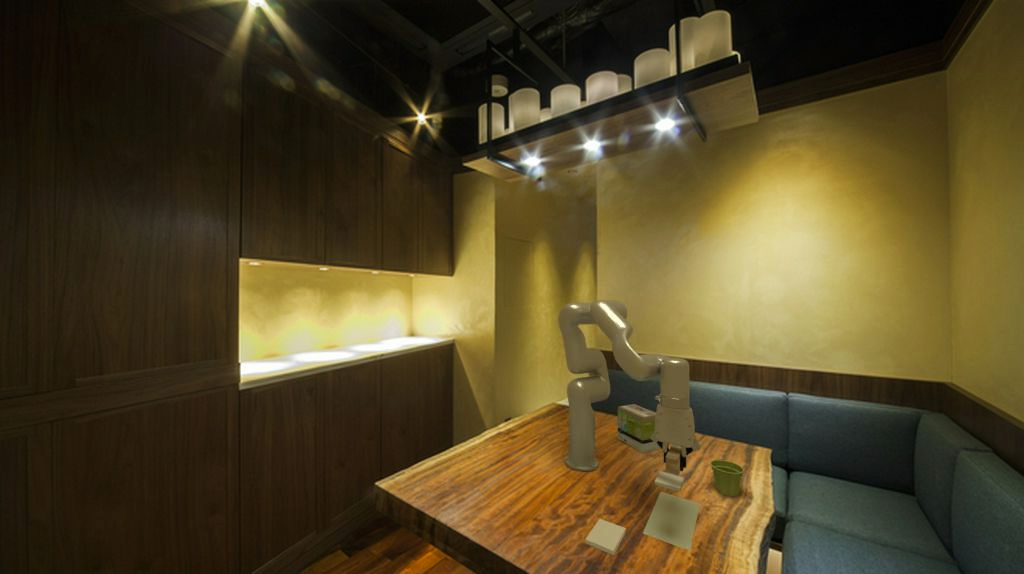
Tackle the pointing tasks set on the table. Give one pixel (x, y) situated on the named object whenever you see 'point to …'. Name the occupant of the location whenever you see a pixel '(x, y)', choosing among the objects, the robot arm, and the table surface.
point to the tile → (606, 536)
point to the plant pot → (727, 477)
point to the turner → (671, 470)
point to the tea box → (637, 427)
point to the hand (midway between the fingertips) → (674, 466)
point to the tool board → (673, 520)
